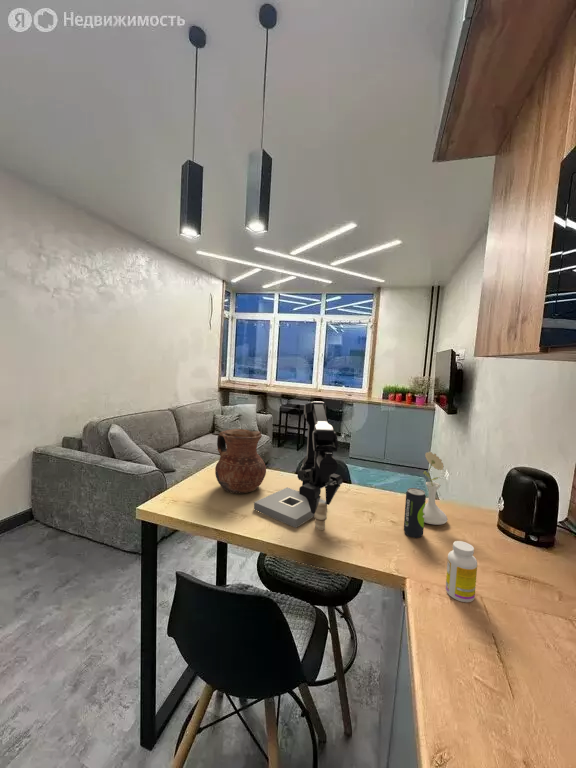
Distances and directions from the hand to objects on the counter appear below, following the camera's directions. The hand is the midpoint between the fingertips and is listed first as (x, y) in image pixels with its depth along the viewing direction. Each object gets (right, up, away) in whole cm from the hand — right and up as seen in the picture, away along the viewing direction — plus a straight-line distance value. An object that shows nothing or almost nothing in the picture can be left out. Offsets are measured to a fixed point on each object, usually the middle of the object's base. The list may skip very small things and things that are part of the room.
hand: (320, 508), depth 116 cm
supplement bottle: (+32, -11, -31) cm, 46 cm away
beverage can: (+31, -8, -2) cm, 32 cm away
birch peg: (0, -7, 0) cm, 7 cm away
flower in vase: (+41, -8, +9) cm, 43 cm away
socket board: (-10, -5, +14) cm, 18 cm away
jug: (-32, -3, +32) cm, 46 cm away
